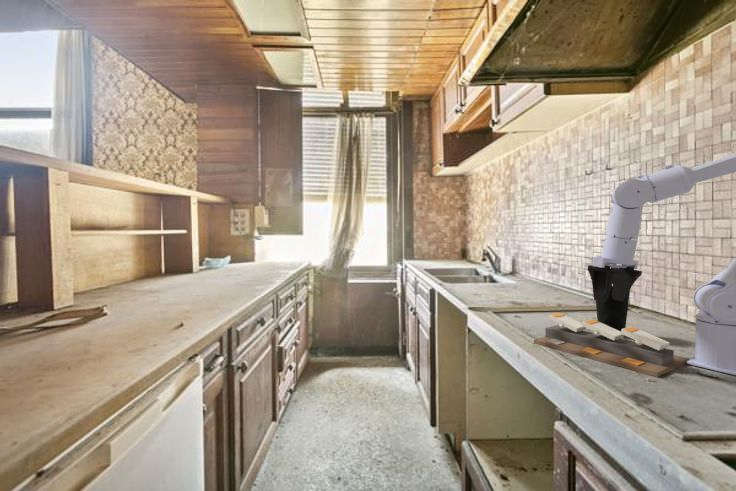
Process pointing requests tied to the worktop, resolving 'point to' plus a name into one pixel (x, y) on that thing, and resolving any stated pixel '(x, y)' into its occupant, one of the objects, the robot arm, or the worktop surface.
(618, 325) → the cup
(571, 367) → the worktop surface
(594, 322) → the switch
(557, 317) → the switch
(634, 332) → the switch
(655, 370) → the switch board
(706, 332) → the robot arm
